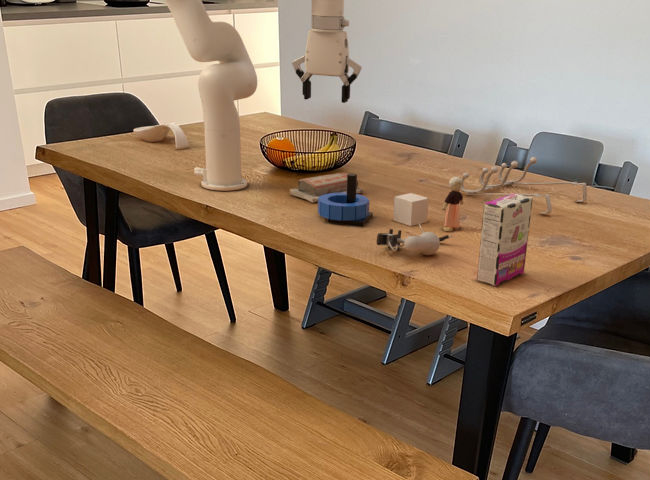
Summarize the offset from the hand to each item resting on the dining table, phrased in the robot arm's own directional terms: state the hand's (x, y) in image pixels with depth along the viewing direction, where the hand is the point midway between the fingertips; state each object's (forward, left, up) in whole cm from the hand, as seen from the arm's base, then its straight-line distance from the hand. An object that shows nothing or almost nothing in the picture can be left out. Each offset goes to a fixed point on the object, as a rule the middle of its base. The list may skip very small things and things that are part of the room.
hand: (326, 100), depth 201 cm
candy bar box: (+51, -36, -26) cm, 68 cm away
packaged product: (-3, +11, -26) cm, 29 cm away
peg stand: (+10, -9, -26) cm, 30 cm away
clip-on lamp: (+31, -26, -26) cm, 48 cm away
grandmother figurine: (+35, -6, -26) cm, 44 cm away
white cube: (+24, -4, -26) cm, 36 cm away
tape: (+8, -8, -25) cm, 28 cm away
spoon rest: (-74, +50, -26) cm, 93 cm away
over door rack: (+48, +30, -26) cm, 62 cm away
